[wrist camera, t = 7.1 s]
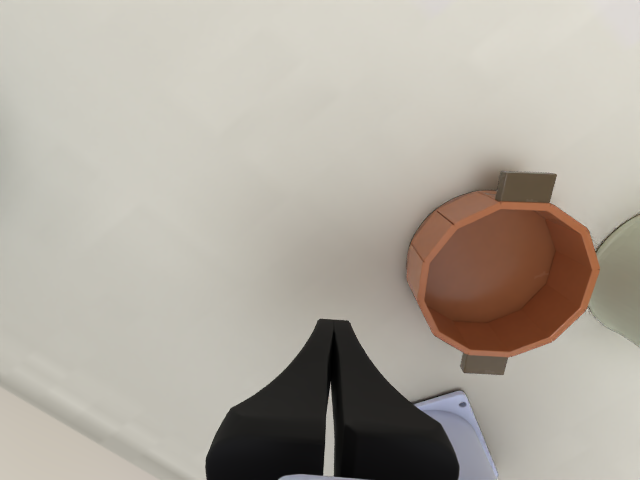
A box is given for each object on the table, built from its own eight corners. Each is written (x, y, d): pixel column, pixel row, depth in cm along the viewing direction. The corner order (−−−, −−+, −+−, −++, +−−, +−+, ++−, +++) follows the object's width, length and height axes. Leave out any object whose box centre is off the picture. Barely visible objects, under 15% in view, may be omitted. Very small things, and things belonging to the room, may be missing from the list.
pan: (396, 336, 23) (406, 371, 19) (418, 163, 19) (435, 170, 15) (529, 343, 22) (562, 380, 19) (579, 168, 18) (632, 176, 15)
